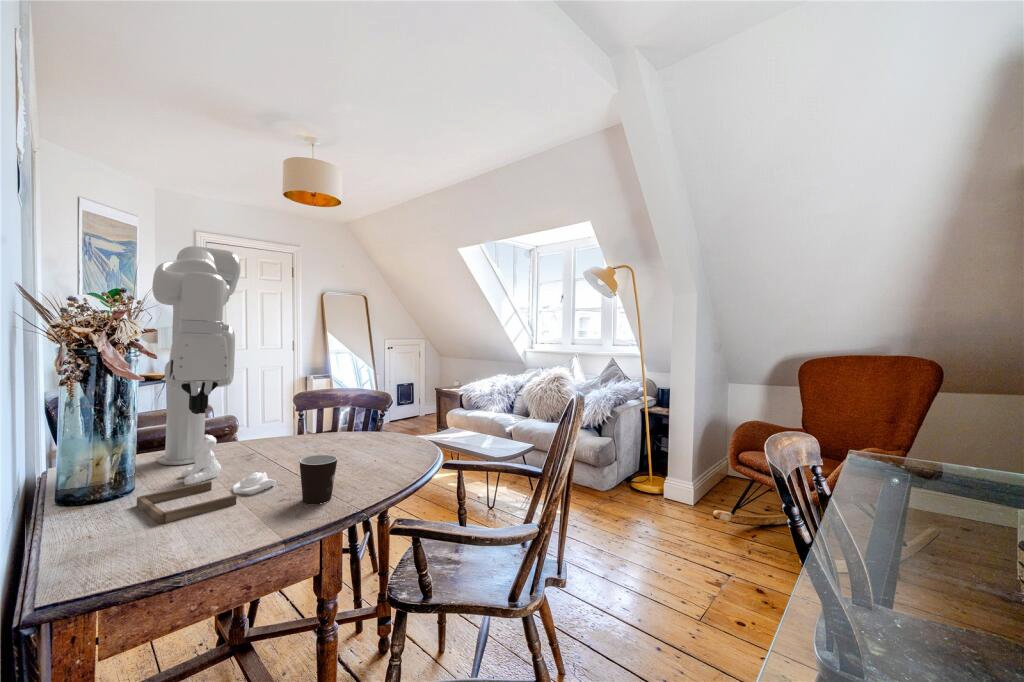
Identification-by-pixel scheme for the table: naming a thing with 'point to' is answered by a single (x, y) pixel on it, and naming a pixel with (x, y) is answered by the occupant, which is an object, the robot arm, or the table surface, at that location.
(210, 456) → the seated beast figurine
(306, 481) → the coffee mug
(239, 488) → the rose
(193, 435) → the robot arm
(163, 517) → the walnut bay
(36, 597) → the table surface
